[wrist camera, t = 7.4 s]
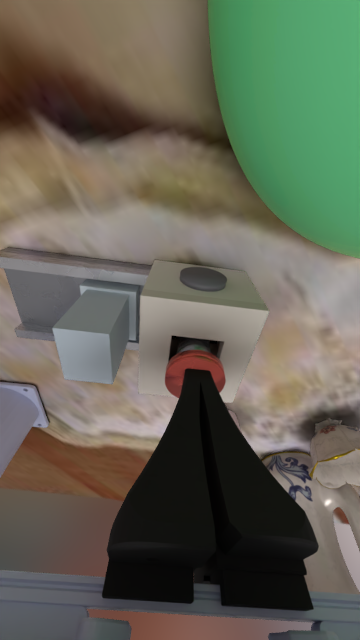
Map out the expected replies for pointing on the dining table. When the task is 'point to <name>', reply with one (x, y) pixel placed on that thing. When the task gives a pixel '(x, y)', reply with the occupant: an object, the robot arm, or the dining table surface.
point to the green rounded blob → (294, 109)
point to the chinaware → (324, 497)
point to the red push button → (192, 364)
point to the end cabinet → (197, 320)
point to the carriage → (97, 331)
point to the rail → (59, 286)
